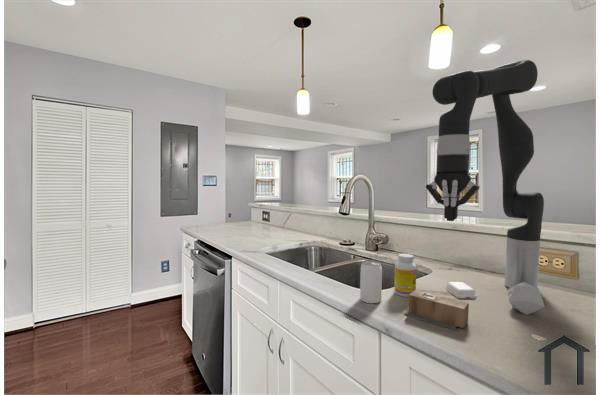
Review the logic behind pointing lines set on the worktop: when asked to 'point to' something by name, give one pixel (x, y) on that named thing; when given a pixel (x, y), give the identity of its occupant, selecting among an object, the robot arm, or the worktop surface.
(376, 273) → the can
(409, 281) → the supplement bottle
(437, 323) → the mat
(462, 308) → the brown wooden block
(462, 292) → the soap
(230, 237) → the worktop surface
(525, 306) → the die
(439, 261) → the worktop surface
